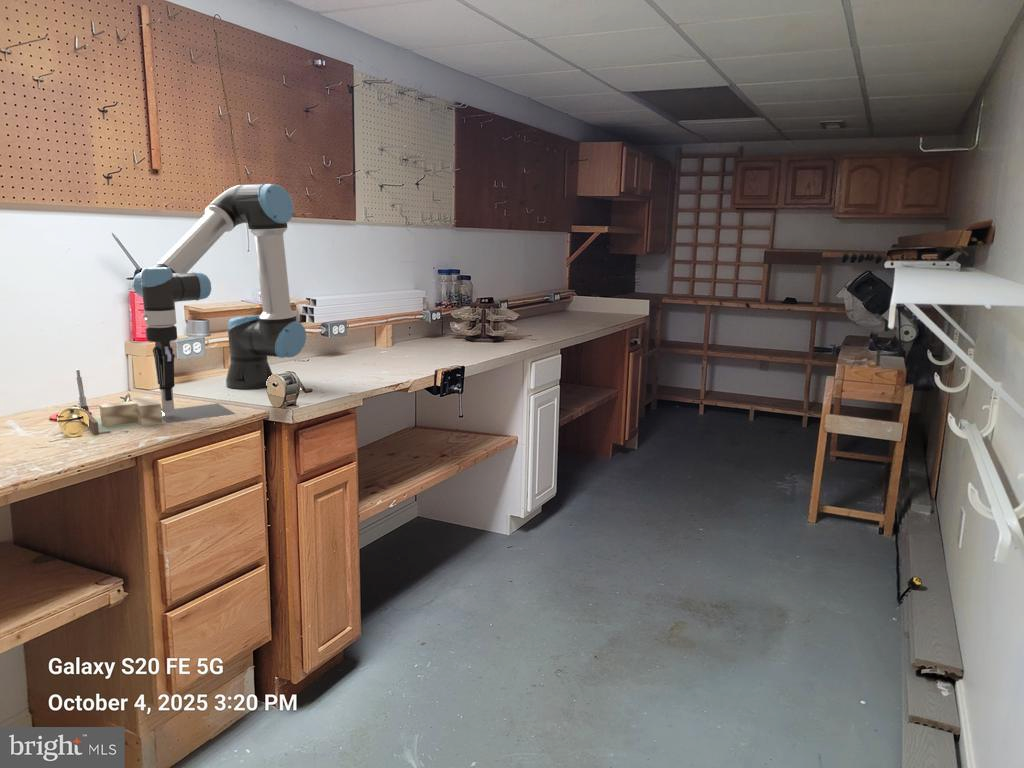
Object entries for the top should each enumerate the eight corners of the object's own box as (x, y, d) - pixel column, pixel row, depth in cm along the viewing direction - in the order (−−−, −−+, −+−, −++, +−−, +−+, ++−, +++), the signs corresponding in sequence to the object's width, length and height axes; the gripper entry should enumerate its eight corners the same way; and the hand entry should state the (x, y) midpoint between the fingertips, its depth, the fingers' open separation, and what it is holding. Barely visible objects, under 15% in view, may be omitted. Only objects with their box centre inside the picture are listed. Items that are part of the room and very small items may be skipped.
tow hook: (56, 424, 197) (93, 417, 204) (47, 377, 194) (86, 370, 201) (46, 419, 203) (83, 412, 209) (37, 373, 200) (75, 367, 206)
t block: (150, 413, 206) (149, 396, 205) (162, 422, 197) (160, 403, 196) (98, 420, 198) (96, 402, 197) (107, 429, 189) (105, 410, 188)
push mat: (217, 404, 220) (217, 394, 219) (235, 415, 207) (235, 404, 207) (83, 421, 198) (82, 410, 198) (94, 434, 186) (93, 422, 185)
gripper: (140, 324, 202) (148, 408, 207) (151, 329, 192) (159, 418, 196) (169, 322, 206) (176, 405, 211) (182, 327, 196) (189, 414, 201)
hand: (168, 411), depth 204 cm, fingers closed
